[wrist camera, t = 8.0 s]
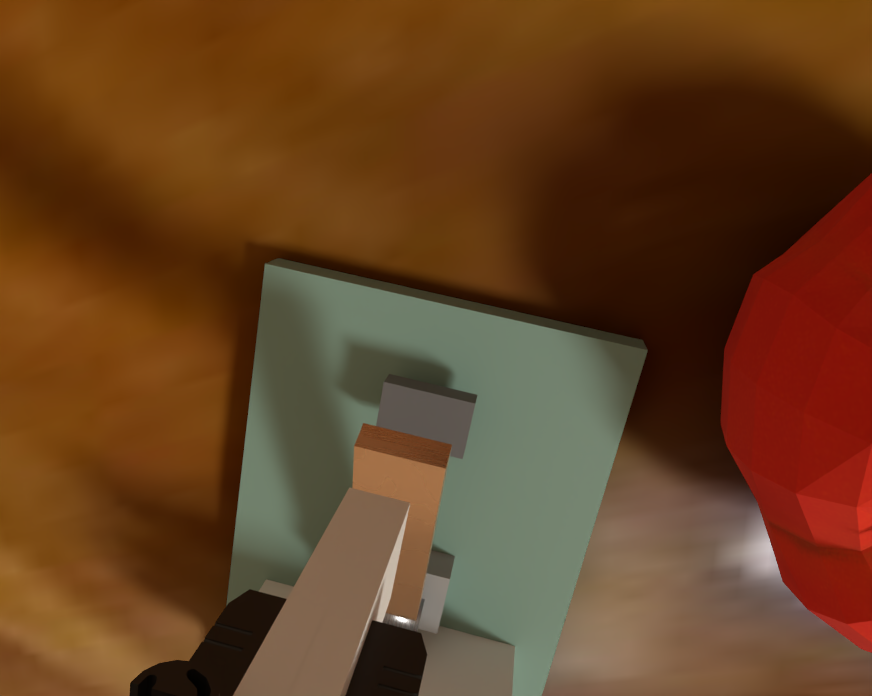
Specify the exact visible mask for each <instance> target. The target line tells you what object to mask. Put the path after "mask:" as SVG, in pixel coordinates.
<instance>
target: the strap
mask: <svg viewBox="0 0 872 696" xmlns="http://www.w3.org/2000/svg"><path fill="white" fill-rule="evenodd" d="M451 447H452V445H451V444H447V443H443V442H439V441H435V440H431V439H427V438H423V437H419V436H415V435H410V434H406V433H402V432H398V431H394V430H390V429H386V428H382V427H378V426H374V425H370V424H365V423H363V425H362V428H361V430H360V433H359V435H358V438H357V440H356V443H355V445H354V461H353V487H352V488H353V489H357V490H361V491H365V492H369V493H373V494H377V495H381V496H385V497H389V498H393V499H397V500H401V501H405V502H409V503H410V507H409V511H408V516H407V521H406V526H405V531H404V536H403V541H402V545H401V550H400V555H399V560H398V565H397V570H396V574H395V579H394V584H393V589H392V594H391V598H390V601H389V604H388V607H387V610H386V613H385V617H384V620H383V623H386V624H389V625H393V626H397V627H401V628H404V629H408V630H412V631H416V632H417V630H418V626H419V622H420V618H421V614H422V610H423V605H424V601H425V599H423V598H422V595H423V590H424V585H425V580H426V575H427V569H428V564H429V559H430V554H431V549H432V544H433V539H434V534H435V529H436V524H437V519H438V514H439V508H440V503H441V498H442V493H443V488H444V483H445V478H446V473H447V468H448V463H449V458H450V452H451Z"/></svg>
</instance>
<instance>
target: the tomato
mask: <svg viewBox="0 0 872 696" xmlns="http://www.w3.org/2000/svg"><path fill="white" fill-rule="evenodd" d="M721 427H722V431H723V434H724V438H725V442H726V446H727V447H728V449H729V451H730V453H731V455H732V457H733V458H734V460H735V462H736V464H737V466H738V467H739V469H740V471H741V473H742V475H743V477H744V478H745V480H746V482H747V484H748V486H749V487H750V489H751V491H752V493H753V495H754V497H755V498H756V500H757V502H758V505H759V508H760V511H761V514H762V517H763V520H764V523H765V526H766V529H767V532H768V535H769V538H770V542H771V545H772V548H773V551H774V554H775V557H776V561H777V564H778V567H779V570H780V574H781V577H782V580H783V582H784V584H785V585H786V586H787V587H788V588H789V589H790V590H791V591H792V592H793V594H794V595H795V596H796V597H797V598H798V599H799V600H800V601H801V602H802V604H803V605H804V606H805V607H806V608H807V609H808V610H809V611H811V612H812V613H813V614H815V615H816V616H818V617H819V618H820V619H822V620H823V621H824V622H826V623H827V624H828V625H830V626H831V627H832V628H834V629H835V630H836V631H838V632H839V633H841V634H842V635H843V636H845V637H846V638H847V639H849V640H850V641H851V642H853V643H854V644H855V645H857V646H858V647H859V648H861V649H863V650H866V651H868V652H871V653H872V173H871V174H870V175H869V176H868V177H867V178H866V179H865V180H864V181H862V182H861V183H860V184H859V185H858V186H857V187H856V188H855V189H854V190H853V191H851V192H850V193H849V194H848V195H847V196H846V197H845V198H844V199H843V200H842V201H840V202H839V203H838V204H837V205H836V206H835V207H834V208H833V209H832V210H831V211H829V212H828V213H827V214H826V215H825V216H824V217H823V218H822V219H821V220H820V221H819V222H817V223H816V224H815V225H814V226H813V227H812V228H811V229H810V230H809V231H808V232H806V233H805V234H804V235H803V236H802V237H801V238H800V239H799V240H798V241H797V242H796V243H795V244H793V245H792V246H791V247H790V248H789V249H788V250H787V251H786V252H785V253H784V254H782V255H781V256H779V257H778V258H776V259H775V260H774V261H772V262H771V263H769V264H768V265H766V266H765V267H763V268H762V269H760V270H759V271H757V272H756V273H755V274H753V276H752V279H751V281H750V284H749V286H748V289H747V292H746V294H745V297H744V299H743V302H742V304H741V307H740V309H739V312H738V315H737V317H736V320H735V322H734V325H733V327H732V330H731V332H730V335H729V338H728V340H727V343H726V345H725V348H724V364H723V384H722V404H721Z"/></svg>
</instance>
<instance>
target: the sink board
mask: <svg viewBox="0 0 872 696" xmlns="http://www.w3.org/2000/svg"><path fill="white" fill-rule="evenodd" d="M647 351H648V350H647V348H646V346H645V344H644V342H643V340H640V339H636V338H631V337H627V336H623V335H618V334H614V333H609V332H605V331H600V330H596V329H591V328H587V327H583V326H578V325H574V324H569V323H565V322H560V321H556V320H552V319H547V318H543V317H538V316H534V315H529V314H525V313H520V312H516V311H512V310H507V309H503V308H498V307H494V306H489V305H485V304H480V303H476V302H472V301H467V300H463V299H458V298H454V297H449V296H445V295H440V294H436V293H432V292H427V291H423V290H418V289H414V288H409V287H405V286H400V285H396V284H392V283H387V282H383V281H378V280H374V279H369V278H365V277H360V276H356V275H352V274H347V273H343V272H338V271H334V270H329V269H325V268H320V267H316V266H312V265H307V264H303V263H298V262H294V261H289V260H285V259H281V258H277V259H275V260H272V261H270V262H268V263H265V268H264V277H263V286H262V295H261V304H260V313H259V321H258V330H257V339H256V348H255V357H254V366H253V374H252V383H251V392H250V401H249V410H248V419H247V427H246V436H245V445H244V454H243V463H242V472H241V480H240V489H239V498H238V507H237V516H236V525H235V533H234V542H233V551H232V560H231V569H230V578H229V586H228V595H227V604H226V606H227V605H228V603H229V602H231V601H232V600H234V599H236V598H237V597H239V596H240V595H242V594H243V593H245V592H246V591H248V590H249V589H251V590H255V591H259V592H263V593H266V594H270V595H274V596H278V597H281V598H285V599H287V598H288V596H289V595H290V593H291V591H292V589H293V587H294V586H295V584H296V582H297V580H298V578H299V577H300V575H301V573H302V571H303V570H304V568H305V566H306V564H307V562H308V561H309V559H310V557H311V555H312V553H313V552H314V550H315V548H316V546H317V545H318V543H319V541H320V539H321V537H322V536H323V534H324V532H325V530H326V528H327V527H328V525H329V523H330V521H331V519H332V518H333V516H334V514H335V512H336V511H337V509H338V507H339V505H340V503H341V502H342V500H343V498H344V496H345V494H346V493H347V491H348V489H349V488H352V487H353V461H354V445H355V443H356V440H357V438H358V435H359V433H360V430H361V428H362V425H363V423H365V424H370V425H374V426H378V427H382V428H386V429H390V430H394V431H398V432H402V433H406V434H410V435H415V436H419V437H423V438H427V439H431V440H435V441H439V442H443V443H447V444H451V445H452V447H451V452H450V458H449V463H448V468H447V473H446V478H445V483H444V488H443V493H442V498H441V503H440V508H439V514H438V519H437V524H436V529H435V534H434V539H433V544H432V549H431V554H430V559H429V564H428V569H427V575H426V580H425V585H424V590H423V595H422V598H423V599H425V601H424V605H423V610H422V614H421V618H420V622H419V626H418V630H417V632H419V633H421V634H422V638H423V641H424V645H425V648H426V652H427V658H426V663H425V668H424V672H423V677H422V681H421V686H420V690H419V695H418V696H542V693H543V690H544V686H545V683H546V680H547V677H548V673H549V670H550V667H551V664H552V660H553V657H554V654H555V651H556V647H557V644H558V641H559V638H560V634H561V631H562V628H563V625H564V621H565V618H566V615H567V612H568V608H569V605H570V602H571V599H572V595H573V592H574V589H575V586H576V582H577V579H578V576H579V573H580V569H581V566H582V563H583V559H584V556H585V553H586V550H587V546H588V543H589V540H590V537H591V533H592V530H593V527H594V524H595V520H596V517H597V514H598V511H599V507H600V504H601V501H602V498H603V494H604V491H605V488H606V485H607V481H608V478H609V475H610V472H611V468H612V465H613V462H614V459H615V455H616V452H617V449H618V446H619V442H620V439H621V436H622V433H623V429H624V426H625V423H626V420H627V416H628V413H629V410H630V407H631V403H632V400H633V397H634V393H635V390H636V387H637V384H638V380H639V377H640V374H641V371H642V367H643V364H644V361H645V358H646V354H647Z"/></svg>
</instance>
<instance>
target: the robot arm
mask: <svg viewBox="0 0 872 696" xmlns="http://www.w3.org/2000/svg"><path fill="white" fill-rule="evenodd" d="M409 507H410V503H409V502H405V501H401V500H397V499H393V498H389V497H385V496H381V495H377V494H373V493H369V492H365V491H361V490H357V489H353V488H349V489H348V491H347V493H346V494H345V496H344V498H343V500H342V502H341V503H340V505H339V507H338V509H337V511H336V512H335V514H334V516H333V518H332V519H331V521H330V523H329V525H328V527H327V528H326V530H325V532H324V534H323V536H322V537H321V539H320V541H319V543H318V545H317V546H316V548H315V550H314V552H313V553H312V555H311V557H310V559H309V561H308V562H307V564H306V566H305V568H304V570H303V571H302V573H301V575H300V577H299V578H298V580H297V582H296V584H295V586H294V587H293V589H292V591H291V593H290V595H289V596H288V598H287V599H285V598H281V597H278V596H274V595H270V594H266V593H263V592H259V591H255V590H251V589H249V590H248V591H246V592H245V593H243V594H242V595H240V596H239V597H237V598H236V599H234V600H232V601H231V602H229V603H228V605H227V606H226V608H225V609H224V611H223V612H222V614H221V615H220V616H219V618H218V619H217V621H216V623H215V626H213V627H212V628H211V630H210V631H209V633H208V634H207V635H206V637H205V640H204V642H202V643H201V644H200V646H199V647H198V649H197V650H196V652H195V653H194V655H193V656H192V657H191V659H190V660H189V661H181V660H175V661H169V662H163V663H159V664H157V665H155V666H153V667H150V668H148V669H146V670H144V671H143V672H142V673H140V674H139V675H138V676H137V677H136V678H135V679H134V680H133V681H132V682H131V683H130V696H418V695H419V690H420V686H421V681H422V677H423V672H424V668H425V663H426V658H427V652H426V648H425V645H424V641H423V638H422V634H421V633H419V632H416V631H412V630H408V629H404V628H401V627H397V626H393V625H389V624H386V623H383V620H384V617H385V613H386V610H387V607H388V604H389V601H390V598H391V594H392V589H393V584H394V579H395V574H396V570H397V565H398V560H399V555H400V550H401V545H402V541H403V536H404V531H405V526H406V521H407V516H408V511H409Z"/></svg>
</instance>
